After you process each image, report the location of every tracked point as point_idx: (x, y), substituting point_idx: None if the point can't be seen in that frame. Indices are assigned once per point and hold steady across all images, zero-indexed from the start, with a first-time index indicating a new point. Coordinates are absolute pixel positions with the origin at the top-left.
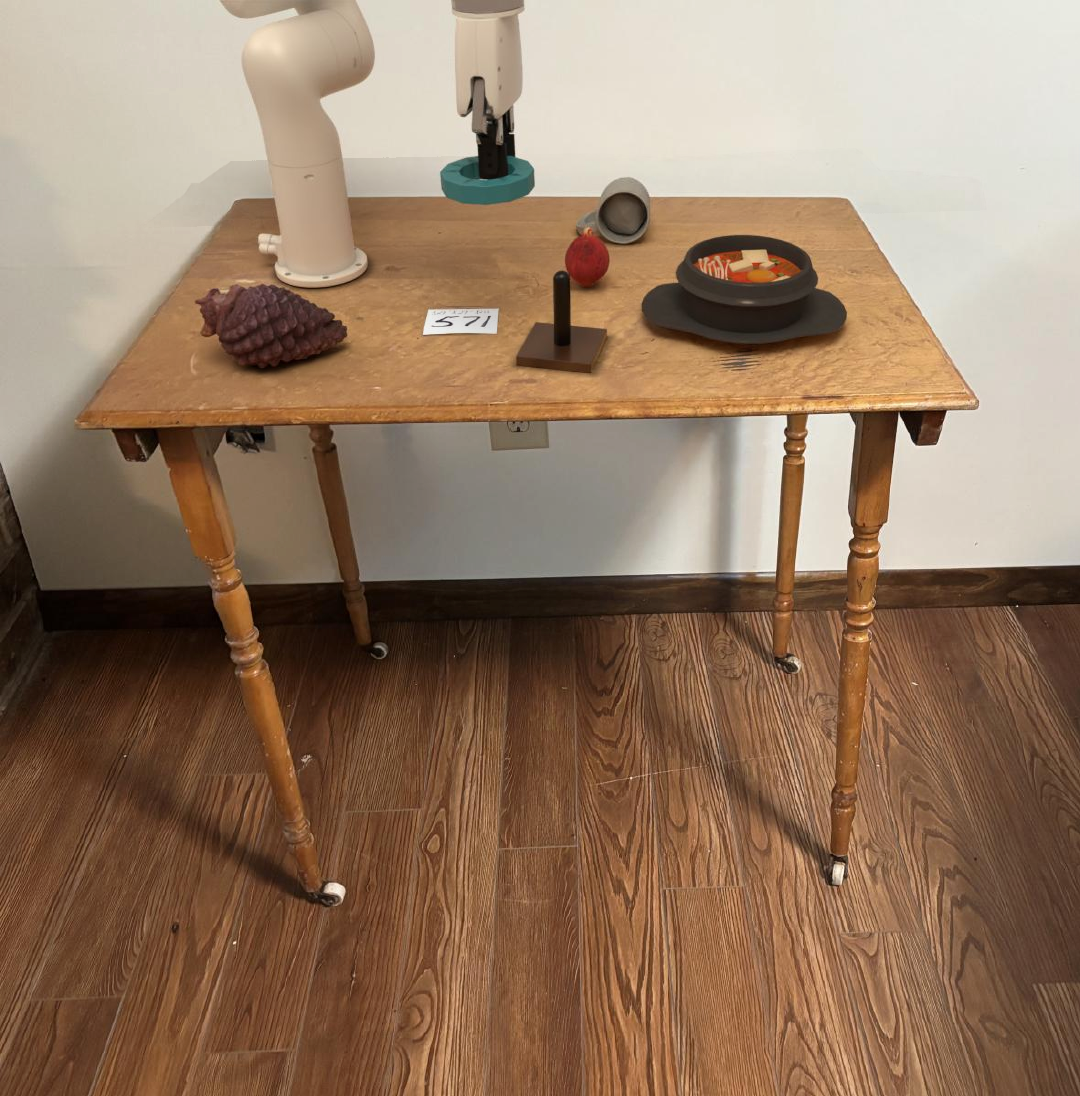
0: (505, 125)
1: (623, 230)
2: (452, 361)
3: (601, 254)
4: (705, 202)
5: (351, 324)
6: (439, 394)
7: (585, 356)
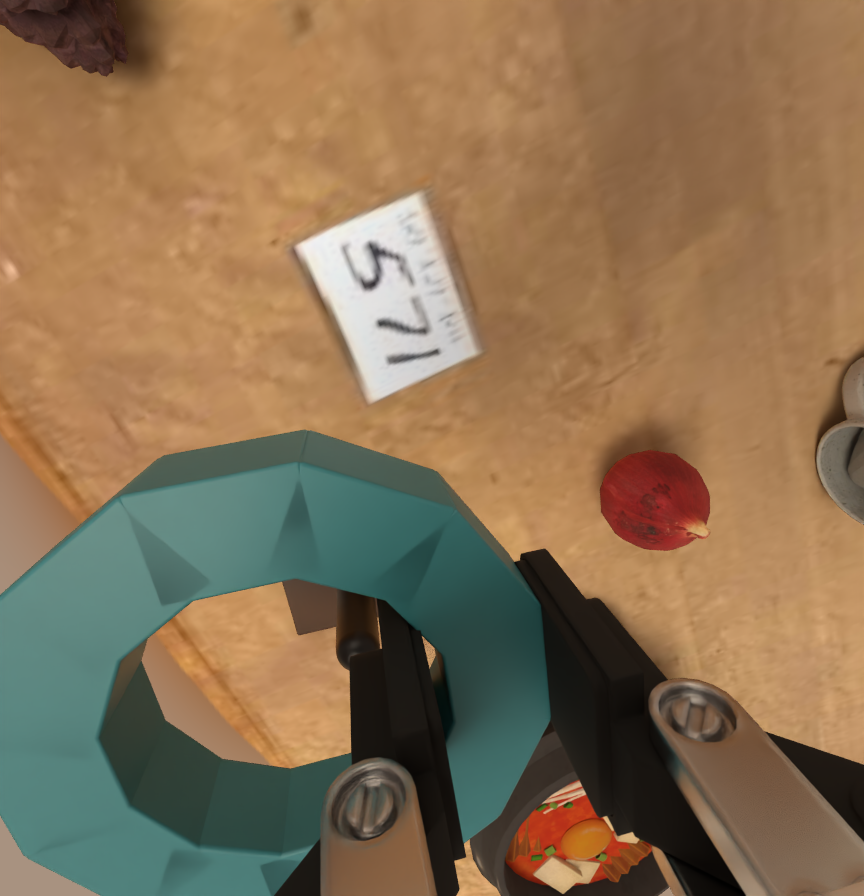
0: (676, 848)
1: (854, 459)
2: (215, 373)
3: (648, 548)
4: None
5: (261, 11)
6: (73, 417)
7: (320, 615)
